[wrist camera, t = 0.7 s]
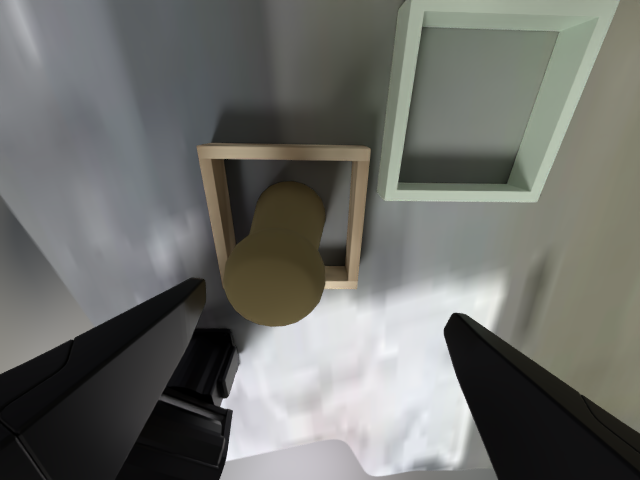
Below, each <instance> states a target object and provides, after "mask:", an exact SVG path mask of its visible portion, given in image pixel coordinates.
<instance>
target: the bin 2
mask: <svg viewBox="0 0 640 480" xmlns="http://www.w3.org/2000/svg"><path fill="white" fill-rule="evenodd" d="M619 1H620V0H406V1H405V2H404V3H403V4H402V6H401V7H400V8H399V10H398V16H397V25H396V33H395V42H394V50H393V58H392V67H391V75H390V84H389V92H388V100H387V109H386V117H385V126H384V134H383V143H382V151H381V159H380V168H379V176H378V185H377V193H378V194H379V195H380V196H381V197H382V199H383V200H384V201H462V202H537V201H538V198H539V196H540V194H541V191H542V189H543V186H544V184H545V181H546V179H547V177H548V174H549V172H550V169H551V167H552V164H553V162H554V160H555V157H556V155H557V152H558V150H559V147H560V145H561V143H562V140H563V138H564V135H565V133H566V130H567V128H568V126H569V123H570V121H571V118H572V116H573V113H574V111H575V109H576V106H577V104H578V101H579V99H580V96H581V94H582V91H583V89H584V87H585V84H586V82H587V79H588V77H589V74H590V72H591V70H592V67H593V65H594V62H595V60H596V57H597V55H598V53H599V50H600V48H601V45H602V43H603V40H604V38H605V36H606V33H607V31H608V28H609V26H610V23H611V21H612V19H613V16H614V14H615V11H616V9H617V6H618V4H619ZM422 27H437V28H468V29H499V30H531V31H559V34H558V37H557V40H556V43H555V46H554V49H553V52H552V55H551V58H550V60H549V63H548V66H547V69H546V72H545V75H544V78H543V81H542V84H541V87H540V89H539V92H538V95H537V98H536V101H535V104H534V107H533V110H532V113H531V115H530V118H529V121H528V124H527V127H526V130H525V133H524V136H523V139H522V142H521V144H520V147H519V150H518V153H517V156H516V159H515V162H514V165H513V168H512V171H511V173H510V176H509V179H508V182H507V184H472V183H398V179H399V173H400V166H401V160H402V153H403V147H404V140H405V134H406V127H407V121H408V114H409V108H410V101H411V95H412V88H413V82H414V75H415V69H416V62H417V56H418V49H419V43H420V36H421V30H422Z"/></svg>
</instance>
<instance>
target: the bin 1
mask: <svg viewBox="0 0 640 480" xmlns="http://www.w3.org/2000/svg"><path fill="white" fill-rule="evenodd" d="M197 151H198V157H199V162H200V167H201V173H202V178H203V184H204V189H205V194H206V200H207V205H208V210H209V216H210V221H211V227H212V232H213V237H214V243H215V248H216V253H217V259H218V264H219V270H220V275H221V280H222V286H223V289H225V288H224V284H223V279H224V271H225V264H226V261H227V259H228V258H229V256H230V254H231V253H232V251H233V249H234V248H235V246H236V241H235V234H234V227H233V220H232V213H231V206H230V199H229V192H228V185H227V178H226V172H225V165H224V159H264V160H330V161H352V174H351V188H350V202H349V216H348V230H347V244H346V258H345V266H325V282H326V284H325V287H324V289H357V281H358V271H359V261H360V251H361V242H362V232H363V222H364V212H365V202H366V192H367V182H368V172H369V162H370V152H371V149H370V148H368V147H366V146H364V145H307V144H248V143H208V144H203V145H198V146H197Z"/></svg>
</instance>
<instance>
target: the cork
mask: <svg viewBox="0 0 640 480" xmlns="http://www.w3.org/2000/svg"><path fill="white" fill-rule="evenodd" d="M324 223H325V208H324V205H323V203H322V200H321V198H320V197H319V196H318V195H317V193H316V192H315V191H314V190H313V189H311V188H310V187H308V186H306V185H305V184H302V183H298V182H294V181H285V182H279V183H277V184H274V185H271V186H270V187H269V188H267V189H266V190H265V191H264V192H263V193H262V194H261V196H260V198H259V199H258V201H257V204H256V208H255V213H254V217H253V221H252V225H251V230H250V234H249V235H248V236H247V237H246V238H244V239H243V240H242V241H241V242H239V243H238V244H237V245H236V246H235V248H234V249H233V251H232V253H231V254H230V256H229V258H228V259H227V261H226V264H225V271H224V279H223V284H224V288H225V292H226V296H227V298H228V300H229V302H230V303H231V304H232V306H233V307H234V309H235V310H236V311H237V312H238V313H239V314H240V315H242V316H243V317H244V318H245V319H247V320H250V321H252V322H254V323H256V324H259V325H265V326H270V327H274V326H286V325H289V324H293V323H296V322H298V321H299V320H301V319H303V318H304V317H306V316H307V315H308V314H310V313H311V312H312V310H313V309H314V308H315V307H316V306H317V304H318V303H319V302H320V299H321V296H322V293H323V290H324V287H325V284H326V282H325V266H324V263H323V260H322V258H321V256H320V254H319V252H318V248H319V244H320V240H321V236H322V232H323V227H324Z"/></svg>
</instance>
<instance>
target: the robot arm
mask: <svg viewBox="0 0 640 480" xmlns="http://www.w3.org/2000/svg"><path fill="white" fill-rule="evenodd" d="M205 302H206V282H205V280H204V279H201V278H190V279H188V280H186V281H184V282H182V283H180V284H178V285H176V286H174V287H172V288H170V289H168V290H166V291H165V292H163V293H161V294H159V295H157V296H155V297H153V298H151V299H149V300H147V301H145V302H143V303H141V304H139V305H137V306H135V307H133V308H132V309H130V310H128V311H126V312H124V313H122V314H120V315H118V316H116V317H114V318H112V319H110V320H108V321H106V322H104V323H102V324H100V325H98V326H97V327H95V328H93V329H91V330H89V331H87V332H85V333H83V334H81V335H79V336H77V337H75V338H74V340H69V341H67V342H65V343H63V344H61V345H60V346H58V347H55V348H54V349H52V350H50V351H48V352H45V353H44V354H41V355H40V356H37V357H35V358H34V359H31V360H29V361H27V362H25V363H23V364H21V365H19V366H17V367H15V368H13V369H10V370H8V371H6V372H4V373H2V374H0V480H219V479H220V476H221V474H222V471H223V468H224V465H225V461H226V457H227V451H228V443H229V436H230V428H231V420H232V413H233V410H230V409H224V408H221V407H220V405H221V402H222V399H223V398H227V397H228V396H229V394H230V391H231V387H232V384H233V381H234V378H235V374H236V372H237V370H238V364H239V359H238V353H237V348H236V346H234V342H233V337H232V332H231V331H230V330H229V329H195V327H196V325H197V322H198V320H199V318H200V315H201V313H202V310H203V308H204V305H205ZM444 337H445V340H446V344H447V347H448V350H449V354H450V357H451V360H452V364H453V367H454V370H455V373H456V376H457V379H458V381H459V384H460V387H461V389H462V391H463V394H464V396H465V399H466V401H467V404H468V406H469V409H470V411H471V414H472V416H473V419H474V421H475V424H476V426H477V429H478V431H479V434H480V436H481V439H482V441H483V444H484V446H485V449H486V451H487V454H488V456H489V458H490V461H491V463H492V466H493V468H494V471H495V473H496V476H497V478H498V480H640V433H638V432H637V431H635V430H634V429H632V428H631V427H629V426H627V425H626V424H624V423H623V422H621V421H620V420H618V419H617V418H615V417H614V416H613V415H611V414H610V413H608V412H607V411H605V410H604V409H602V408H601V407H599V406H598V405H596V404H595V403H593V402H592V401H591V400H589V399H588V398H586V397H585V396H583V395H580V393H579V392H577V391H576V390H575V389H573V388H572V387H570V386H569V385H567V384H566V383H564V382H563V381H562V380H560V379H559V378H557V377H556V376H554V375H553V374H551V373H550V372H549V371H547V370H546V369H544V368H543V367H541V366H540V365H538V364H537V363H536V362H534V361H533V360H531V359H530V358H528V357H527V356H525V355H524V354H522V353H521V352H520V351H518V350H517V349H515V348H514V347H512V346H511V345H509V344H508V343H507V342H505V341H504V340H502V339H501V338H499V337H498V336H496V335H495V334H494V333H492V332H491V331H489V330H488V329H486V328H485V327H483V326H482V325H481V324H479V323H478V322H476V321H475V320H473V319H472V318H470V317H469V316H468V315H466V314H462V313H453V314H452V315H451V317H450V319H449V320H448V322H447V324H446V326H445V328H444Z"/></svg>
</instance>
